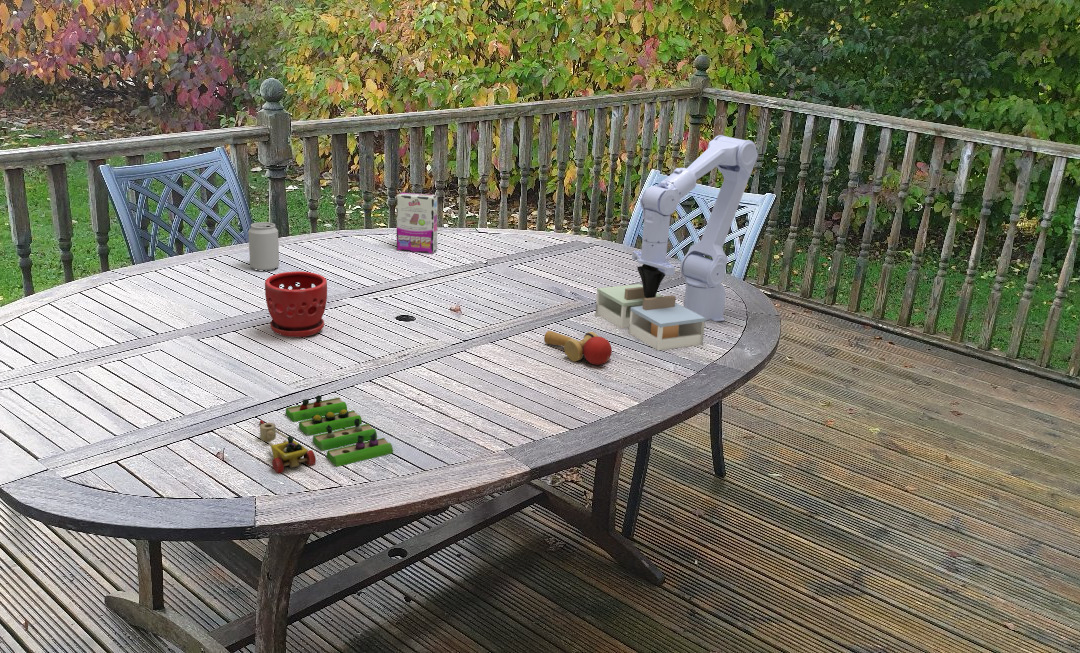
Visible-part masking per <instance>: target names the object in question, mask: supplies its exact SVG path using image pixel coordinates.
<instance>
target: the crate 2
mask: <svg viewBox="0 0 1080 653" xmlns="http://www.w3.org/2000/svg"><path fill="white" fill-rule="evenodd" d="M705 324H706V321H705V322H697V323H689V324H682V325H679V330H678V337H672V338H664V339H662V334H663V327H658V332H657V337H655V336H654V335H652V334H650V332H651V322H650V321H648V320H646V319H645V318H643V317H641V316H639V315H637V314H636V313H634V312H632V311H630V322H629V328H628V334H630V335H632V337H635V338H637V339H638V340H640V341H641V342H643V343H645V344H646V345H649V346H650V347H651V348H653V349H654V350H656V351H663V350H671V349H677V348H684V347H691V346H698V345H703V342H704V335H705V334H704V333H705Z"/></svg>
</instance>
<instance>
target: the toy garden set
mask: <svg viewBox="0 0 1080 653" xmlns="http://www.w3.org/2000/svg"><path fill="white" fill-rule="evenodd" d="M322 398H323V397H322V396H321V395H320V394H317V395H316V397H315V401H313V402H310V399H309V398H306V399H302V404H299V405H294V406H288V407H286V408H285V415H286V416H288V418H289V419H290V420H291V421H292V422H293V423H297V422H299V423H298V427H299V428H298V429H300V431H302V432H303V433H304V434H305V435H306V437H309V436H312V442H313V443H314V445H316V447H317V448H318V449H320V450H321V451H322V452H323V451H327V452H326V458H327V459H328V460H329V461H330V462H331V463H332V464H333V465H334V466H335V467H340V466H341V467H342V466H345V465H350V464H354V463H357V462H362V461H365V460H366V461H367V460H370V459H374V458H378V457H383V456H386V455H390V454H393V453H394V450H393V449H394V448H393V444H392V443H391V442H389V441H388V440H386V438H385V437H382V438H378V435H377V434H378V433H377V430H376V428H373V427H372V426H371V424H370V423H365V424H363V421H362V416H361V415H360V414H358V413H357V412H356V411H355V410H354V409H352V410H350V411H349V410H348V406H347V402H346V401H343V400H342V399H341V397H340V396H339V397H335V398H329V399H324V400H322ZM309 402H310V403H309ZM259 422H260V425H259V434H260V435H259V437H260V438H259V439H260V440H261V441H263V442H270V443H269V445H268V446H269V447H270V448H271V451H272V452H271V453H272V456H273V458H272V461H271V463H272V464H271V465H272V469H273V470H274V472H275V473H276V474H281V473H284V470H285V467H287V466H289V468H290V469H293V468H298V467H299V466H300V463H306V464H307V465H308V466H314V465H316V462H317V459H316V455H315V453H314V451H313V450H311V449H310V450H309V449H307V448H306V447H305V446H303V445H302V444H301V443H299V442H298V441H296V440H294V438H293V437H292V436H291V435H288V436H287V435H286V434H284V433H282V432H281V431H279V430H277V429H276V424H275V422H274V423H273V422H266V423H265V421H263V420H262V419H261V420H260V421H259ZM277 434H279V435H280V436H282V437H284V438H285V439H284V440H283V441H282V442H281V443H277V444H274V443H272V442H271V441H274V440H276V438H277ZM286 439H287V440H286Z"/></svg>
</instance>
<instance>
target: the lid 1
mask: <svg viewBox="0 0 1080 653" xmlns="http://www.w3.org/2000/svg"><path fill="white" fill-rule="evenodd" d="M597 292H599V293H600V294H602V295H604V296H606V297H607V298H609V299H611V300H613V301H615V302H616V303H618V304H620V305H622V306H623V307H624V306H633V305H642V304H643V299H645V298H646V297H645V296H644V290H643V284H641V283H636V284H628V285H618V286H617V285H616V286H609V287H608V286H607V287H599V288H597V289H596V293H597ZM662 296H663V295H662V294H659V293H658V292H657V293H656V296H655V297H662Z"/></svg>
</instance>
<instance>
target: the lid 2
mask: <svg viewBox="0 0 1080 653" xmlns="http://www.w3.org/2000/svg"><path fill="white" fill-rule="evenodd" d="M676 300H677V297H676V296H675V295H671V294H670V295H664V296H663V295H662V297H653V298H645V299H643V306H637V307H631V311H632V312H634V313H636V314H637V315H639V316H641V317H643V318H645V319H646V320H648V321H650V322H652V323H653V324H655V325H657V326H659V327H666V326H674V325H682V324H689V323H697V322H705V323H706V320H705V318H704V317H702V316H701V315H699V314H697V313H695V312H693V311H691V310H689V309H687V308H685V307H684V305H682V304H679V303H678V302H676Z"/></svg>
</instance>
